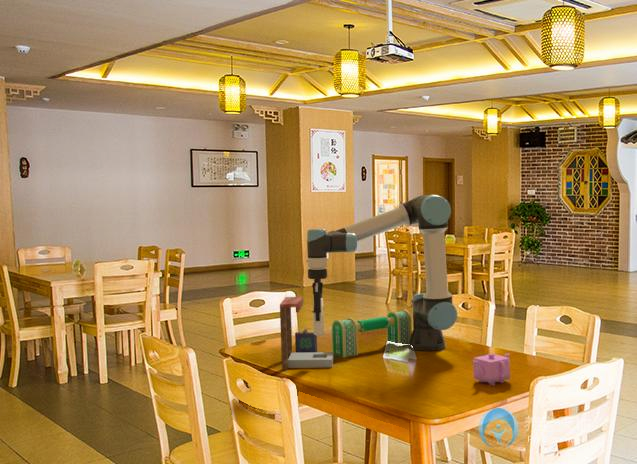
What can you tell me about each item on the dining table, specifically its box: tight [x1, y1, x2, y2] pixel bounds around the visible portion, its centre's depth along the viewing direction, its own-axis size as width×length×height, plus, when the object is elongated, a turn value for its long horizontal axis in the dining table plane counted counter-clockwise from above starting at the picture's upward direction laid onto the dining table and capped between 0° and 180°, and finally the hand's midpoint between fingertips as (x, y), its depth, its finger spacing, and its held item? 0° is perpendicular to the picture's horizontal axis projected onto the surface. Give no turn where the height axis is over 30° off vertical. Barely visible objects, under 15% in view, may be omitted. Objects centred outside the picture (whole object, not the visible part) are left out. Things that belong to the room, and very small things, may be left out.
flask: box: [294, 327, 319, 353], centre depth 282 cm, size 9×3×11 cm, turn 88°
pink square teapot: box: [472, 353, 511, 386], centre depth 233 cm, size 18×13×10 cm
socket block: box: [288, 351, 335, 369], centre depth 265 cm, size 17×12×3 cm
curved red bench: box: [279, 296, 304, 371], centre depth 265 cm, size 7×18×25 cm, turn 176°
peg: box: [312, 297, 325, 336], centre depth 264 cm, size 4×4×14 cm
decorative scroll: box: [331, 309, 413, 358], centre depth 286 cm, size 36×8×15 cm, turn 122°
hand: (318, 327), depth 264 cm, fingers closed on peg, 4 cm apart
